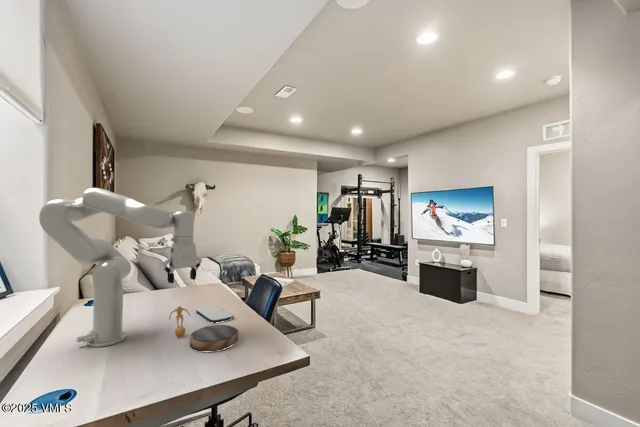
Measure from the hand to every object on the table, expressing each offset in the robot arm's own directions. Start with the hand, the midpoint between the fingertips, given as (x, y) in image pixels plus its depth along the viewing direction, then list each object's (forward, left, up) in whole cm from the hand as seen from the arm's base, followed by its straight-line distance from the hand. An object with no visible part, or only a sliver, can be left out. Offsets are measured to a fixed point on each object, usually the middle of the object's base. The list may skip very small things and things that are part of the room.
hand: (182, 280), depth 124 cm
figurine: (-1, -1, -23) cm, 23 cm away
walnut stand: (+4, -18, -22) cm, 29 cm away
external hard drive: (+23, +10, -23) cm, 34 cm away
